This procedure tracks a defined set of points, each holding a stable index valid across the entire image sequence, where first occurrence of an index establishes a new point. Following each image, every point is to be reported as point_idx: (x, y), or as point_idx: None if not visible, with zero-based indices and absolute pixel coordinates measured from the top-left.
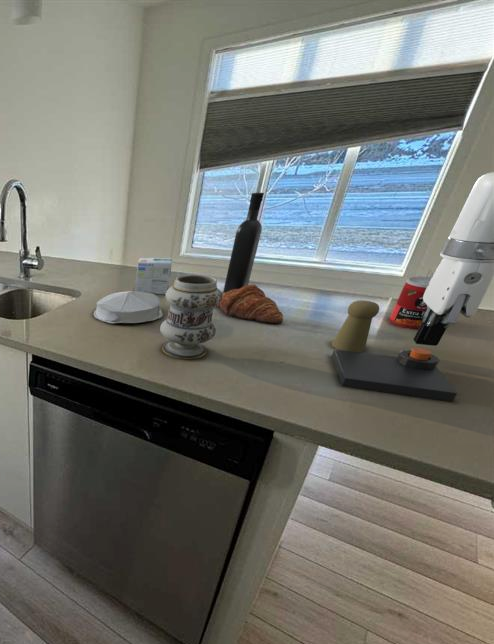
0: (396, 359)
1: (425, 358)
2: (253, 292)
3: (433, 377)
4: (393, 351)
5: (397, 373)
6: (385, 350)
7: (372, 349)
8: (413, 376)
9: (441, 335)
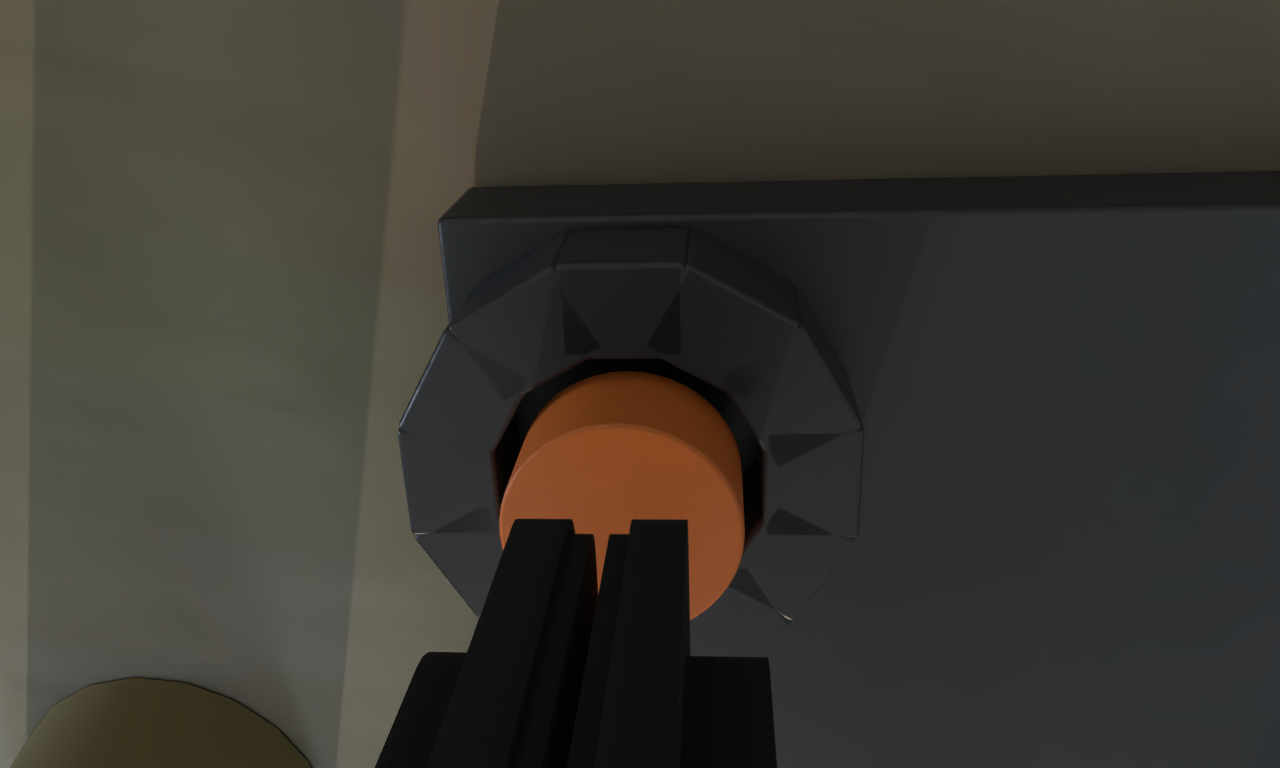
0: None
1: (735, 452)
2: None
3: (1092, 344)
4: (59, 425)
5: (1062, 674)
6: (75, 497)
7: (120, 610)
8: (1120, 547)
9: (674, 671)
